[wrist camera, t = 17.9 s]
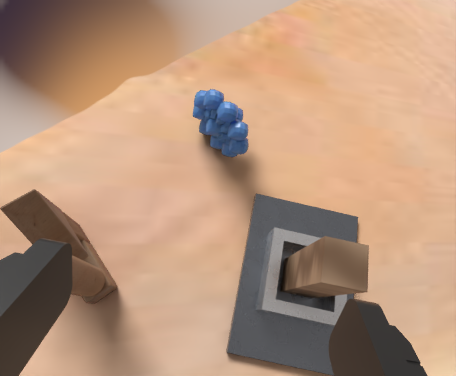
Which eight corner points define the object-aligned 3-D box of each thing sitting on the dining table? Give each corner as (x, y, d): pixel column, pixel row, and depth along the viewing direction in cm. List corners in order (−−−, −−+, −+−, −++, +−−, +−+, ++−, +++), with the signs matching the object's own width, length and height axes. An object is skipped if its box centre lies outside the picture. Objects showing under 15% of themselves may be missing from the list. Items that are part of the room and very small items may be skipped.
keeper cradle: (345, 377, 43) (364, 385, 38) (226, 351, 42) (230, 356, 37) (354, 218, 51) (371, 209, 46) (254, 195, 50) (261, 183, 46)
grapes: (259, 157, 53) (278, 115, 42) (226, 179, 51) (237, 142, 40) (216, 106, 55) (222, 54, 44) (183, 125, 53) (181, 76, 42)
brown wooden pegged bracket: (79, 223, 46) (15, 172, 29) (118, 287, 43) (74, 272, 27) (54, 238, 45) (-27, 194, 28) (93, 304, 42) (30, 300, 26)
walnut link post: (312, 298, 45) (367, 291, 31) (280, 291, 45) (321, 282, 31) (315, 265, 46) (368, 245, 32) (284, 258, 46) (325, 235, 32)
